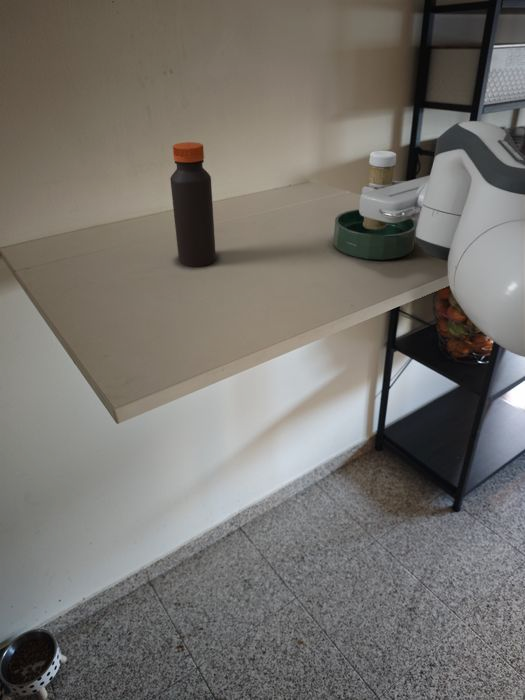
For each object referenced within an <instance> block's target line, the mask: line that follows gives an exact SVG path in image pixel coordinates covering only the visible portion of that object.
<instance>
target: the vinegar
mask: <svg viewBox="0 0 525 700" xmlns="http://www.w3.org/2000/svg"><path fill="white" fill-rule="evenodd" d="M172 153H173V160H174V164H176V169H175V171H174V172H173V173H172V175H171V176H170V178H169V180H170V189H171V191H170V192H171V199H172V208H173V216H174V228H175V237H176V238H175V239H176V247H177V255H178V257H177V258H178V261H179V263H180V264H181V265H183V266H186V267H190V268H200V267H206V266H208V265H211V264H213V263H214V262H215V261H216V258H217V256H216V254H217V253H216V240H215V239H216V237H215V221H214V207H213V190H212V188H213V187H212V177H211V174H210V173H209V172H207V170H206V169H205V168H204V167H203V166H204V165H203V163H204V162H205V153H204V144H202V143H200V142H194V141H193V142H191V141H190V142H189V141H188V142H179V143H178V142H177V143H175V144H173V145H172Z"/></svg>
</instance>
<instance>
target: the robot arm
mask: <svg viewBox="0 0 525 700" xmlns="http://www.w3.org/2000/svg"><path fill="white" fill-rule="evenodd" d="M434 150H435V151H434V155H433V163H432V166H431V169H430V170H431V171H430V173H429V175H425V176H422V177H417V178H414V179H410V180H393V179H392V186H388V187H384V188H380V189H377V190H376V187H374V186H370V185H369V186H368V185H366V186H363V187H362V190H361V194H360V197H359V204H358V205H359V206H358V209H359V213H360V214H361V216H363V217H367V218H370V219H374V220H378V221H382V222H388V223H398V222H402V221H405V220H408V219H411V218H413V219H414V220H415V221H416V224H417V227H416V235H415V241H416V242H417V245H418V246H419V248H421V250H422V251H423V252H424V253H425V254H426V255H428V256H432V257H433V258H437V259H440V260H443V261H445V262H447V279H448V286H449V289H450V292H451V294H452V296H453V298H454V299H455V301H456V303H457V304H458V305H459V307H460V308H461V310H462V311H463V313H464V314H465V316H466V317H467V318H468V319H469V320H470V321H471V323H472V324H473V325H474V326H475V327H476V328H477V329H478V330H479V331H480V332H482V333H483V334H484V336H486V337H487V338H489V339H490V340H491V341H493V342H494V343H495V344H497V345H498V346H500V347H501V348H503V349H505V350H506V351H508V352H510V353H512V354H514V355H517V356H519V357H523V358H525V155H524V154H523V153H522V152H521V151H520V150H519V149H518V148H517V145H516V142H515V141H514V139H513V138H512V136H511V134H510V133H509V132H508V131H506V130H504V129H503V128H501V127H499V126H498V125H496V124H494V123H490V122H486V121H479V120H470V121H469V120H468V121H463V122H457V123H455V124H453V125H452V126H451V127H448V129H447V130H445V131H444V132H443V133H442V134H440V136H439V137H438V138H437V139H436V145H435V149H434Z"/></svg>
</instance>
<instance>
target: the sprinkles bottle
mask: <svg viewBox="0 0 525 700" xmlns="http://www.w3.org/2000/svg"><path fill="white" fill-rule="evenodd" d="M396 162H397V154H396V152H395V151H394V152H393V151H390V150H374V151H372V152H370V154H369V160H368V163H369V170H368V180H367V186H369V185H370V186H374V187H376V190H377V189H380V188H384V187H388V186H392V180H393V179H394V178H393V177H394V172H395V171H394V169H395V167H396V164H397V163H396ZM363 226H364V227H365V228H367V229H370V230H383V229H385V228H386V227H387V222H382V221H378V220H374V219H370V218H367V217H364V222H363Z"/></svg>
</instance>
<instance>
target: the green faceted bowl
mask: <svg viewBox="0 0 525 700" xmlns="http://www.w3.org/2000/svg"><path fill="white" fill-rule="evenodd" d="M363 222H364V217H363V216H361V214H360V213H359V208H358V209H351V210H347V211H344V212H341V213H339V214H338V215H336V216H335V218H334V229H333V243H332V244H333V246H334V247H335V248H336V250H338V251H341V252H342V253H344V254H346V255H349V256H352V257H354V258H358V259H364V260H370V261H371V260H373V261H384V260H386V261H387V260H392V259H398V258H401V257H405V256H407V255H409V254H411V253H412V251H413V249H414V248H415V243H416V238H415V235H416V227H417V224H416V221H415V218H411V219H408V220H405V221H402V222H398V223H388V222H387V227H386V228H385V229H383V230H370V229H367V228H365V227H364V226H363Z"/></svg>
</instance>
